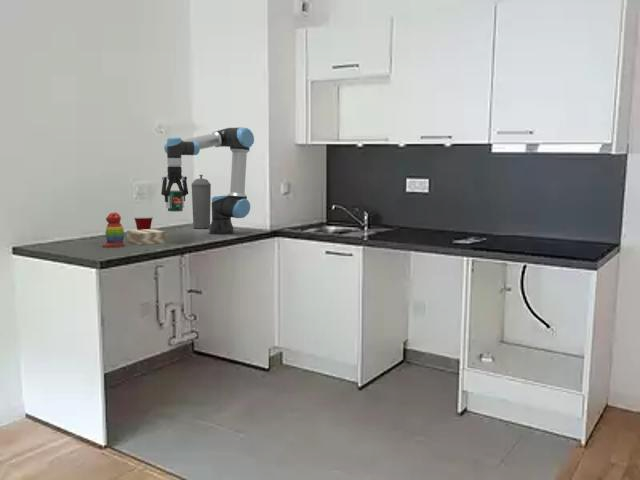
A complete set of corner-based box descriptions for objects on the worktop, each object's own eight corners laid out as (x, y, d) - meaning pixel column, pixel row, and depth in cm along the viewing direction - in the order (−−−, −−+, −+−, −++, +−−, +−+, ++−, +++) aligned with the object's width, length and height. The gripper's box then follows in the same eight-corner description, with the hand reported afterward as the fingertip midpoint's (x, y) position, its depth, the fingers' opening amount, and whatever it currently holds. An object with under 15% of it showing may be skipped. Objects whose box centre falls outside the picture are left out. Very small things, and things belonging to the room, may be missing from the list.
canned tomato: (172, 210, 345) (172, 190, 343) (185, 210, 343) (184, 190, 341) (165, 211, 337) (164, 191, 336) (178, 211, 335) (177, 191, 334)
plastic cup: (152, 235, 369) (152, 215, 367) (154, 238, 359) (153, 217, 357) (133, 236, 365) (133, 215, 364) (134, 238, 355) (134, 217, 354)
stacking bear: (108, 244, 333) (107, 211, 330) (127, 244, 333) (126, 211, 330) (101, 247, 322) (100, 213, 320) (120, 247, 322) (119, 213, 319)
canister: (197, 226, 416) (196, 174, 411) (214, 227, 412) (214, 174, 407) (188, 228, 403) (187, 174, 399) (206, 229, 400) (205, 175, 395)
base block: (153, 239, 354) (153, 228, 354) (166, 242, 342) (166, 231, 342) (127, 241, 344) (126, 230, 343) (139, 244, 332) (139, 233, 331)
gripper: (187, 165, 346) (188, 206, 349) (153, 165, 333) (154, 208, 336) (194, 166, 341) (195, 207, 344) (160, 166, 327) (161, 209, 330)
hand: (175, 207), depth 340 cm, fingers closed on canned tomato, 8 cm apart
